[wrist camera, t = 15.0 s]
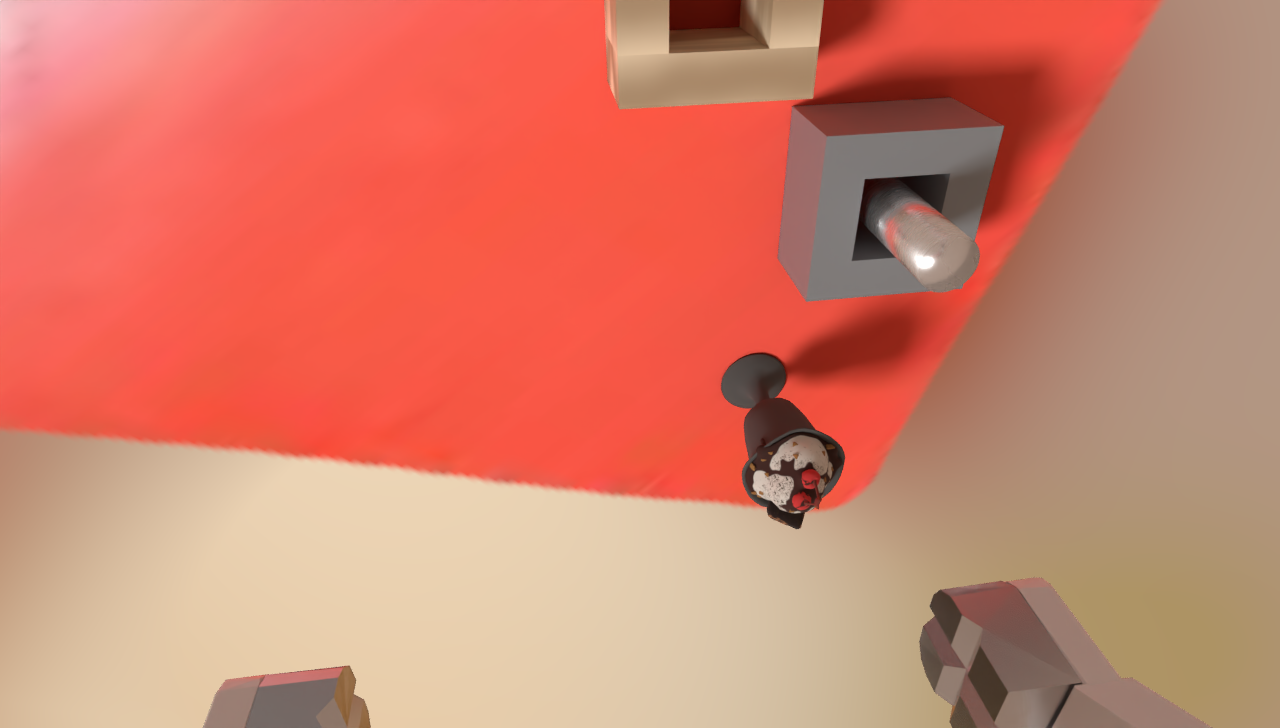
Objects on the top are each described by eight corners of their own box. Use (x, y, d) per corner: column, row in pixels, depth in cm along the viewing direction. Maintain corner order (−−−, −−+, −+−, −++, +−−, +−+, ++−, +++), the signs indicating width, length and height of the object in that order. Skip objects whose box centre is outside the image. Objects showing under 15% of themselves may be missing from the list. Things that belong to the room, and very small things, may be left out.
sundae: (759, 326, 52) (833, 467, 40) (813, 377, 56) (896, 522, 43) (691, 383, 54) (741, 534, 42) (746, 429, 58) (808, 582, 45)
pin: (838, 158, 46) (925, 237, 36) (887, 155, 46) (986, 232, 37) (831, 206, 48) (912, 294, 38) (878, 203, 48) (971, 289, 38)
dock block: (792, 106, 44) (826, 136, 39) (950, 97, 45) (1004, 125, 40) (777, 258, 49) (806, 301, 45) (918, 247, 50) (962, 288, 46)
